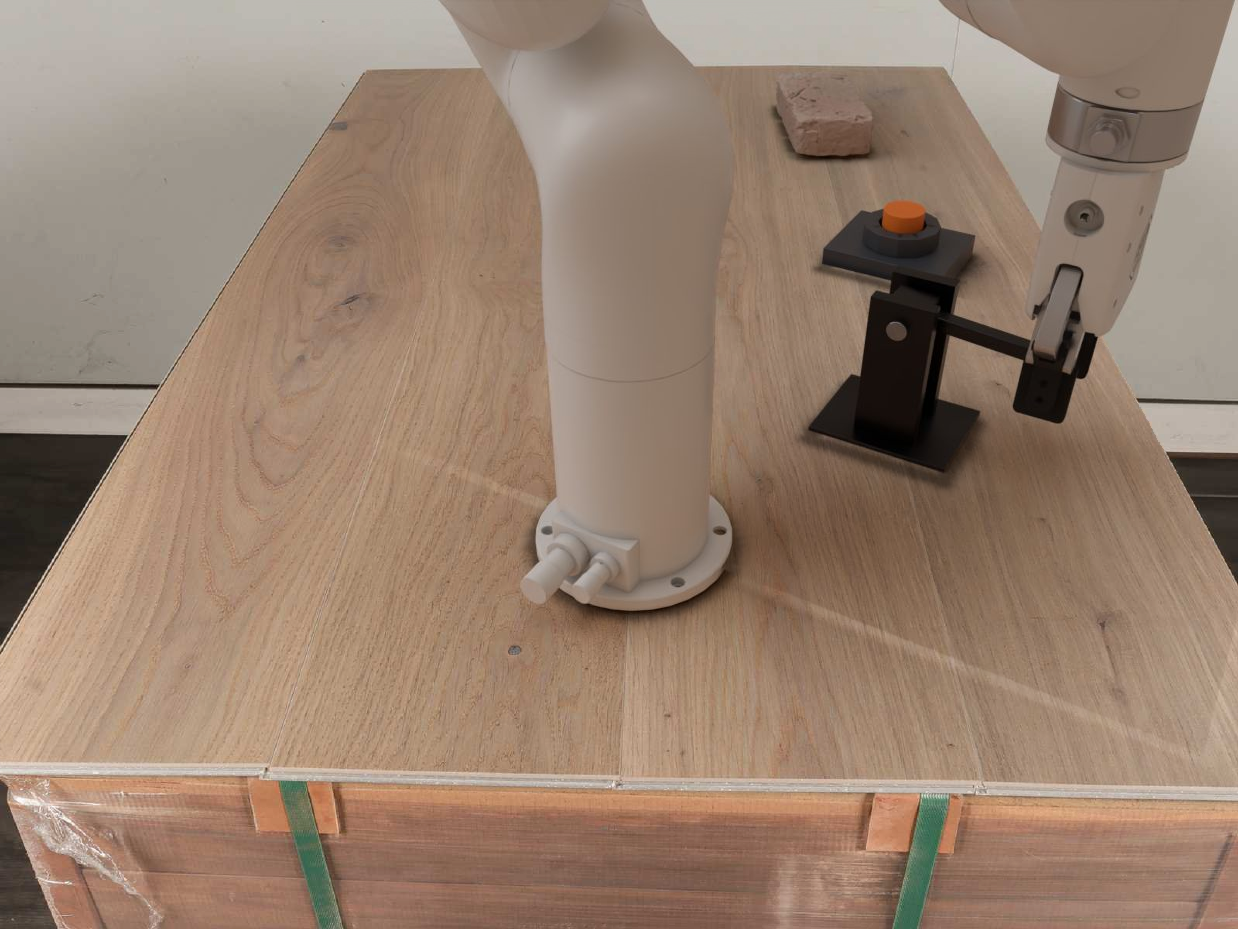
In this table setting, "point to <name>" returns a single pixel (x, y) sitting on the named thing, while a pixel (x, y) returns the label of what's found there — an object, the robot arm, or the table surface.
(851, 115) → the brick
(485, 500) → the table surface
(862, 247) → the button box
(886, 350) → the bracket
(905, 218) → the button
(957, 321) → the lever
